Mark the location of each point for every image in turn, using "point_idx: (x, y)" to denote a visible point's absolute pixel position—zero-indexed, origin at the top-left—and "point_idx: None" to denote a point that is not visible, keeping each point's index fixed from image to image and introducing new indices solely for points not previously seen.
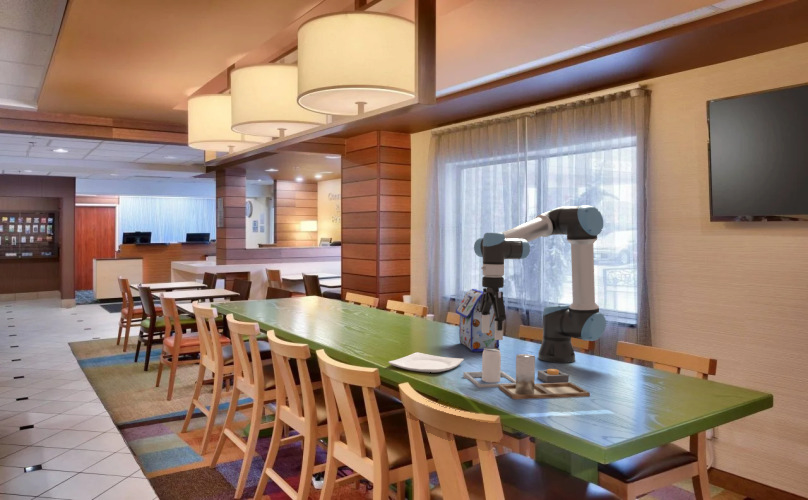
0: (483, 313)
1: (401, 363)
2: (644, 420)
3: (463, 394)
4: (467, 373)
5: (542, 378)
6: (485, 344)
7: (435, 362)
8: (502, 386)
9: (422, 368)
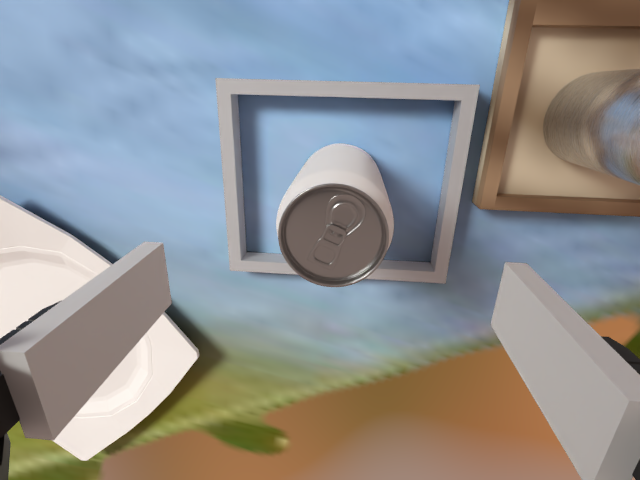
0: (4, 443)
1: None
2: None
3: (471, 339)
4: (253, 262)
5: None
6: None
7: (7, 293)
8: (508, 204)
9: None
